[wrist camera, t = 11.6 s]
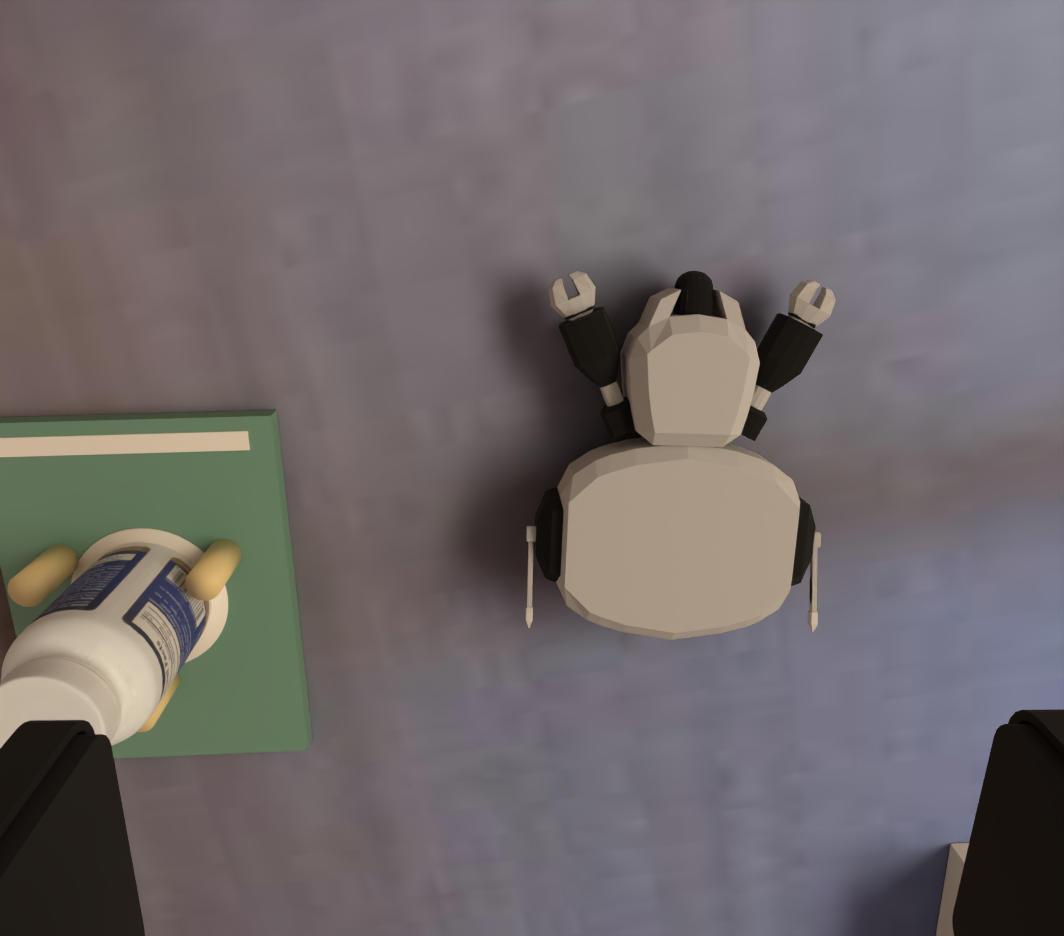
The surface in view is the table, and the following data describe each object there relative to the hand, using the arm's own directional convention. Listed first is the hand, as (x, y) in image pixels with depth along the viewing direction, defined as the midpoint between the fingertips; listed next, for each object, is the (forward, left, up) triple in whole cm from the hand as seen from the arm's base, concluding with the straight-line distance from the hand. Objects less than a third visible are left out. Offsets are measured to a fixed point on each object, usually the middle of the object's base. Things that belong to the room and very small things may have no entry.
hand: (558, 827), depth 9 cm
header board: (+10, -16, -28) cm, 34 cm away
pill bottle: (+10, -16, -27) cm, 33 cm away
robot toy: (+4, +7, -29) cm, 30 cm away
